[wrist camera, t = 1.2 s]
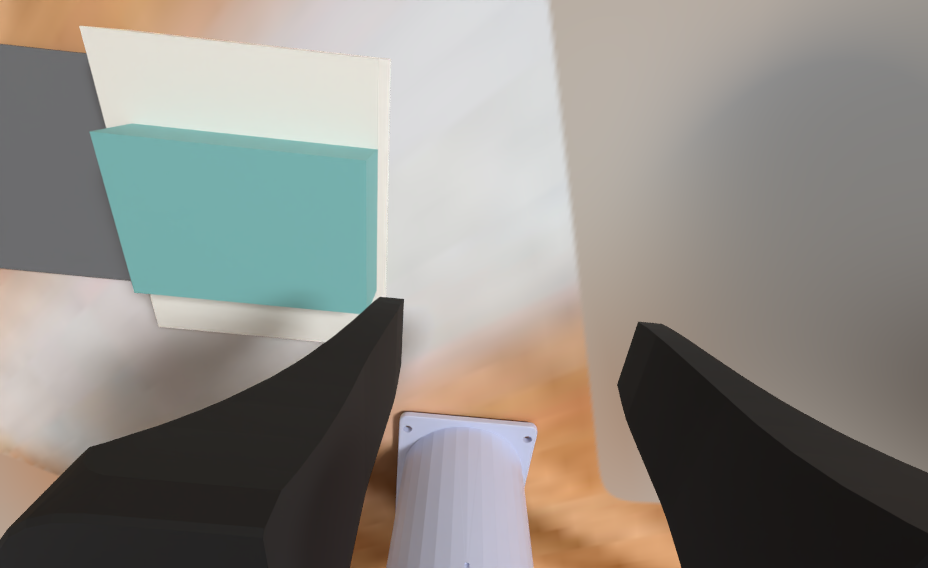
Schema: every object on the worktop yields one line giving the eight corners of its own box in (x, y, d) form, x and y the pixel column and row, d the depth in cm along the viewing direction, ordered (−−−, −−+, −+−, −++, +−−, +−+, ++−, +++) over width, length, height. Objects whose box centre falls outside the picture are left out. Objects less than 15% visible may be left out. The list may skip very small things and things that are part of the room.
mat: (175, 281, 22) (172, 284, 22) (-72, 258, 22) (-79, 260, 21) (124, 57, 17) (119, 57, 17) (-191, 22, 17) (-202, 22, 17)
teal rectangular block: (376, 290, 19) (366, 314, 17) (166, 270, 19) (134, 292, 17) (377, 149, 16) (366, 160, 15) (132, 123, 16) (89, 131, 14)
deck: (385, 318, 23) (376, 347, 20) (189, 300, 22) (158, 326, 20) (390, 58, 17) (378, 59, 15) (131, 29, 17) (79, 25, 15)
